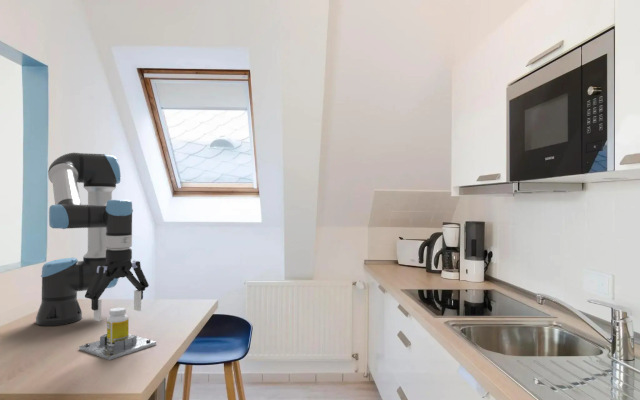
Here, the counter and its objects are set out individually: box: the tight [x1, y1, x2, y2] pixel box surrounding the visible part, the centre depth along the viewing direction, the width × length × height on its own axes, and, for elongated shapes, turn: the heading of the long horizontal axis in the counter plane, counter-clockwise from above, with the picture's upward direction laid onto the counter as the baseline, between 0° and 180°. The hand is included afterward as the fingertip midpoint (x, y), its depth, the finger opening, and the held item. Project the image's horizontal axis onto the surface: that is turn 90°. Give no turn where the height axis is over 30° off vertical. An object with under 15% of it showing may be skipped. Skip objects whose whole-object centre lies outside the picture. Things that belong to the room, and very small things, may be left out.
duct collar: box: [78, 333, 157, 361], centre depth 137 cm, size 16×16×4 cm
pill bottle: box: [106, 307, 130, 347], centre depth 137 cm, size 6×6×11 cm
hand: (118, 315), depth 137 cm, fingers open, 13 cm apart
